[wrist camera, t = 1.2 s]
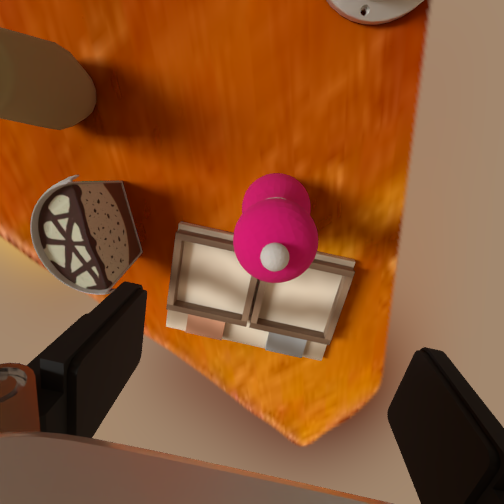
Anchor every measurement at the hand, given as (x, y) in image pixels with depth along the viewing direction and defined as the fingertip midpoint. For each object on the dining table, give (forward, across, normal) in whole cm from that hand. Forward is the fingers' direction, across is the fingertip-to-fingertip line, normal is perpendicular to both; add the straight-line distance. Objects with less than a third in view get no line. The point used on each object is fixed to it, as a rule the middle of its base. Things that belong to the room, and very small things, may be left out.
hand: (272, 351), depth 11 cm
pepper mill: (+28, 0, 0) cm, 28 cm away
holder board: (+28, 0, +12) cm, 31 cm away
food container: (+28, +20, +7) cm, 35 cm away
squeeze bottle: (+28, +25, -7) cm, 38 cm away
